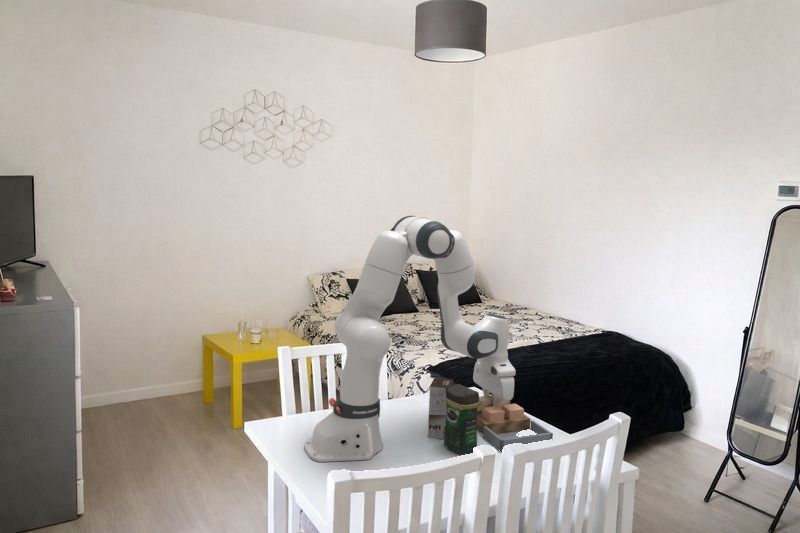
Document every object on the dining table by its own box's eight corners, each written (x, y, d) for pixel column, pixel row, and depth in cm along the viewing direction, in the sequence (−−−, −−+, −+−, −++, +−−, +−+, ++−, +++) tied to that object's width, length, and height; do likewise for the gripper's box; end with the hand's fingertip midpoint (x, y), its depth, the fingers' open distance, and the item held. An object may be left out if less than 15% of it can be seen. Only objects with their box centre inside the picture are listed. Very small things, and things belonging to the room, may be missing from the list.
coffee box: (448, 439, 190) (450, 388, 188) (427, 437, 192) (429, 386, 189) (451, 428, 199) (454, 378, 197) (431, 425, 200) (433, 376, 198)
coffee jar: (481, 451, 183) (484, 389, 180) (460, 457, 178) (463, 394, 176) (459, 439, 191) (462, 380, 188) (439, 445, 186) (441, 384, 184)
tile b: (509, 420, 197) (510, 410, 196) (501, 414, 201) (502, 405, 201) (523, 418, 199) (524, 409, 198) (515, 412, 203) (515, 403, 203)
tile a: (489, 422, 194) (490, 413, 194) (482, 416, 199) (482, 407, 198) (504, 420, 196) (504, 411, 196) (496, 414, 201) (496, 405, 200)
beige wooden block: (477, 411, 202) (477, 401, 201) (471, 407, 205) (472, 397, 204) (509, 407, 206) (510, 397, 206) (504, 404, 209) (504, 393, 209)
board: (485, 436, 193) (485, 424, 193) (462, 418, 207) (463, 407, 206) (529, 430, 199) (530, 418, 198) (505, 413, 213) (506, 402, 212)
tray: (500, 452, 183) (501, 440, 182) (483, 437, 193) (483, 426, 192) (552, 444, 189) (552, 433, 189) (532, 430, 199) (533, 420, 199)
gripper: (469, 355, 212) (467, 394, 214) (501, 373, 193) (498, 416, 195) (486, 353, 214) (483, 392, 216) (518, 372, 195) (515, 414, 197)
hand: (491, 404), depth 205 cm, fingers closed on beige wooden block, 3 cm apart
